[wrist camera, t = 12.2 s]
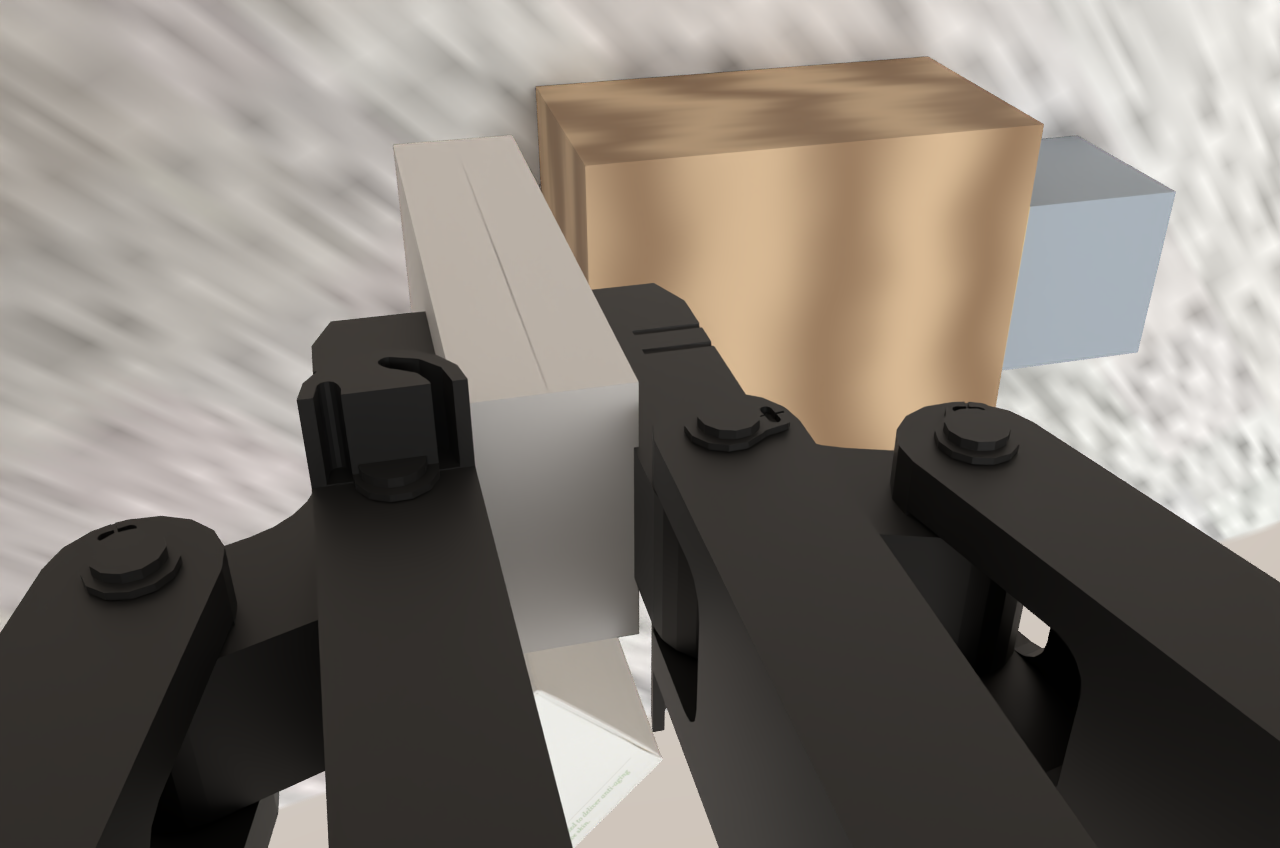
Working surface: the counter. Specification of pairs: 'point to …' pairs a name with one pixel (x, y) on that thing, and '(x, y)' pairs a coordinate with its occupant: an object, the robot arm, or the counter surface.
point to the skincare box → (591, 728)
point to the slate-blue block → (1085, 256)
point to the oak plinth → (809, 225)
